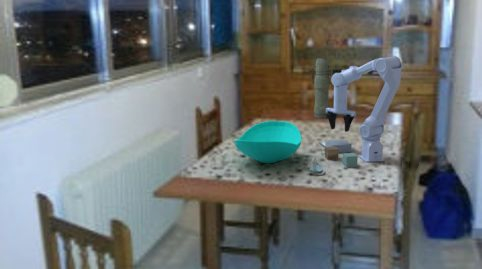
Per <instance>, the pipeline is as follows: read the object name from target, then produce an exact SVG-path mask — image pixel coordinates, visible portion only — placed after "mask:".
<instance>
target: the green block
mask: <svg viewBox="0 0 482 269" xmlns="http://www.w3.org/2000/svg"><path fill="white" fill-rule="evenodd" d="M358 157H359V155H357V154H355V153H354V152H344V153H342V165H343V166H344V167H346V168H355V167H358Z"/></svg>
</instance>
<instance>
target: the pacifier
mask: <svg viewBox="0 0 482 269" xmlns="http://www.w3.org/2000/svg"><path fill="white" fill-rule="evenodd" d="M311 164H312V165H311V167H310V169H309V170H308V172H310V173H312V175H316V176H322V175H325V173H326V170H324V169H323V167H322V166H321V165H319V164H317V160H316V157H312V158H311Z"/></svg>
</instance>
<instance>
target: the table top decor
mask: <svg viewBox="0 0 482 269" xmlns="http://www.w3.org/2000/svg"><path fill="white" fill-rule="evenodd" d="M302 140H303V139H302V134H301V131H300V129H299V128H298V127H297V126H296V125H295V124H294V123H292V122H288V121H285V120H283V121H282V120H281V121H280V120H268V121H262V122H259V123H256V124H254V125H252V126H251V127H250V128H248V129H247V130H245V132H244V133H243V134H242V135H241V136H239V137H238V138H236V139H235V140H234V141H233V142H234V146H235V147H236V149H237V150H238V151H239V152H241V153H242V154H243V155H244V156H246V157H249V158H251V159H253V160H255V161H258V162H259V163H264V164H272V163H276V162H281V161H283V160H285V159H287V158H290V157H291V156H292V155H293V154H295V153H296V152H297V151H298V149H299V148H300V147H301V144H302V143H301V142H302Z"/></svg>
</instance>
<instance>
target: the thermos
mask: <svg viewBox="0 0 482 269" xmlns="http://www.w3.org/2000/svg"><path fill="white" fill-rule="evenodd" d="M314 69H315V70H314ZM329 70H330V74H329ZM314 72H315V76H314ZM329 75H330V76H329ZM332 76H333V67H332V65H330V61H329V58H327V57H323V56H321V57H318V58H316V61H315V65H313V66H312V68H311V83H312V84H314V86H313V88H314V107H313V115H314V116H313V117H315V118H314V119H317V118H326V119H328V118H327V116H326V114H328V113H326V108H330V106H329V93H330V92H329V91H330V90H329V89H330V85H333V84H332V81H331V78H332Z"/></svg>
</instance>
